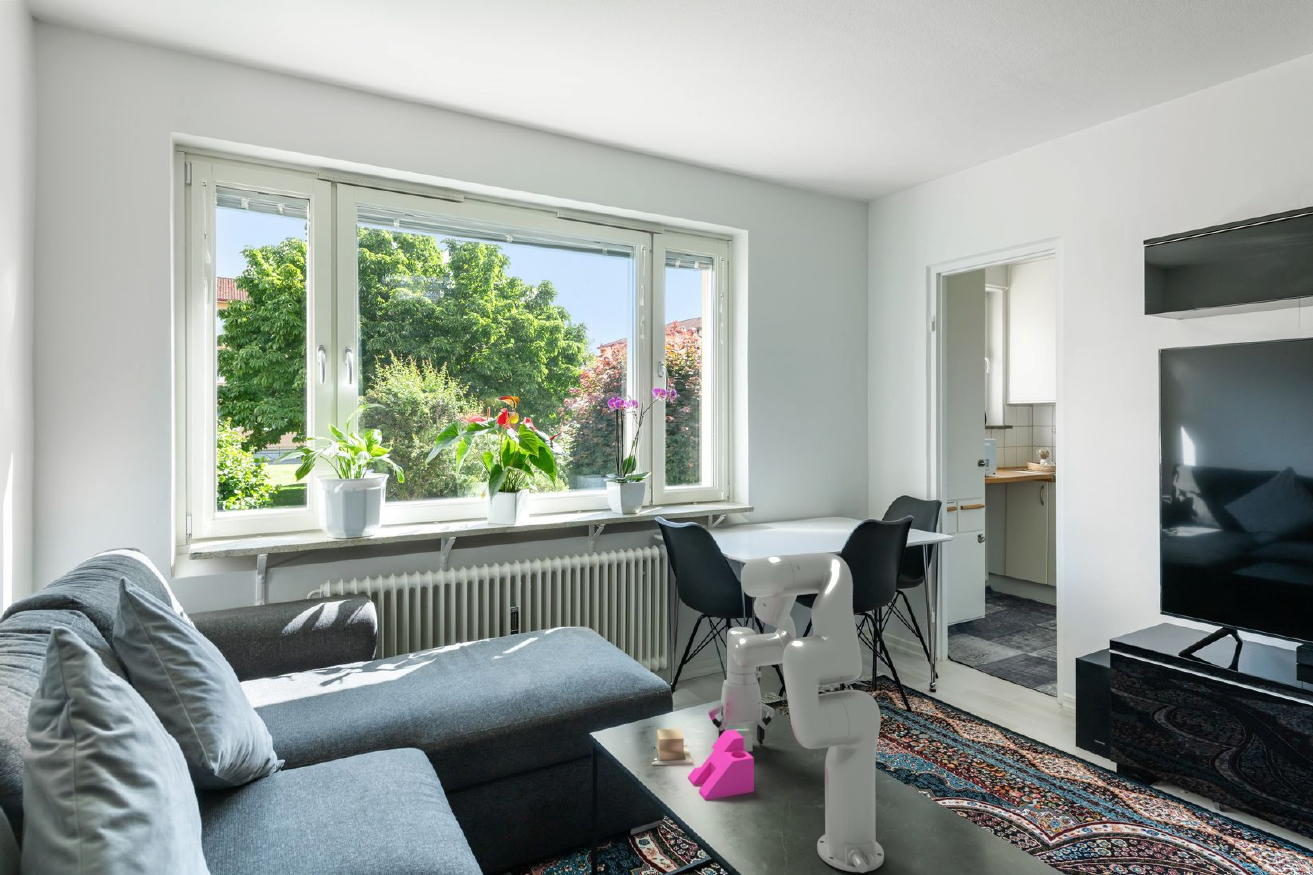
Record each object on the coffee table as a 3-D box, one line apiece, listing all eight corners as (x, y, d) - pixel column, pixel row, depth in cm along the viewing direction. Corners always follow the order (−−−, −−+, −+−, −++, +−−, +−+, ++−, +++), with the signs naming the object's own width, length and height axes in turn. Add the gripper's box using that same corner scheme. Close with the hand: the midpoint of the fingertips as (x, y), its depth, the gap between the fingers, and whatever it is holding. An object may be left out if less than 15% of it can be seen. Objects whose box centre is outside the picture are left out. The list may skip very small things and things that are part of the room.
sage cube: (752, 753, 183) (752, 735, 183) (735, 754, 182) (735, 736, 182) (748, 745, 187) (748, 728, 187) (731, 746, 187) (731, 729, 187)
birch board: (692, 766, 175) (692, 761, 175) (652, 768, 174) (652, 763, 174) (686, 748, 185) (686, 744, 185) (648, 750, 184) (648, 746, 184)
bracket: (734, 772, 172) (734, 729, 173) (753, 791, 163) (753, 746, 163) (688, 779, 169) (687, 736, 169) (704, 800, 159) (704, 754, 159)
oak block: (680, 748, 183) (680, 728, 183) (683, 758, 177) (683, 738, 177) (657, 749, 182) (657, 729, 182) (659, 759, 176) (659, 739, 176)
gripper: (770, 670, 190) (770, 735, 190) (705, 673, 188) (705, 738, 188) (778, 680, 182) (778, 747, 182) (711, 682, 180) (711, 751, 180)
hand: (741, 743), depth 185 cm, fingers open, 9 cm apart
